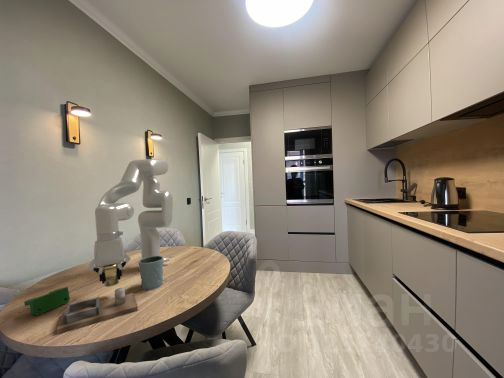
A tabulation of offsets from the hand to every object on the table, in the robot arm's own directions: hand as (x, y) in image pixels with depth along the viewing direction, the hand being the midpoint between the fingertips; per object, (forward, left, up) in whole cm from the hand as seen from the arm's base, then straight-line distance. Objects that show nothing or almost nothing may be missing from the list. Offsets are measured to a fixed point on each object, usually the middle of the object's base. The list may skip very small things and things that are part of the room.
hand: (111, 280), depth 92 cm
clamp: (+20, -5, -7) cm, 22 cm away
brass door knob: (0, 0, -2) cm, 2 cm away
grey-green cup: (-15, -1, -7) cm, 17 cm away
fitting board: (+4, +12, -7) cm, 14 cm away
